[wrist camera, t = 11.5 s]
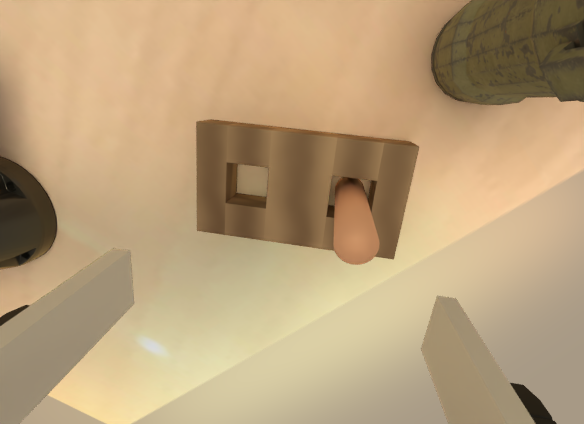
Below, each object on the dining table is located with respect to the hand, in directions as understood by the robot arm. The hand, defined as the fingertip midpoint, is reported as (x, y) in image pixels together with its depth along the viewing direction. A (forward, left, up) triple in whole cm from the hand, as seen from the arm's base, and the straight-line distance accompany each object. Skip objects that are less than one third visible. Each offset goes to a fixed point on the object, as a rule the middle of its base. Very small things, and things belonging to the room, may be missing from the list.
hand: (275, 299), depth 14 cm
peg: (+4, -1, -25) cm, 25 cm away
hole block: (-1, -1, -25) cm, 25 cm away
